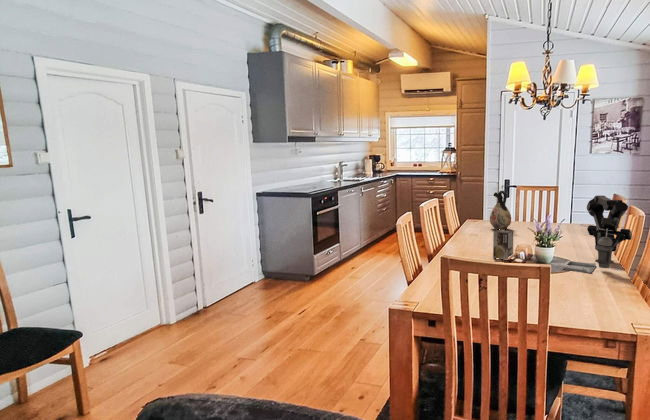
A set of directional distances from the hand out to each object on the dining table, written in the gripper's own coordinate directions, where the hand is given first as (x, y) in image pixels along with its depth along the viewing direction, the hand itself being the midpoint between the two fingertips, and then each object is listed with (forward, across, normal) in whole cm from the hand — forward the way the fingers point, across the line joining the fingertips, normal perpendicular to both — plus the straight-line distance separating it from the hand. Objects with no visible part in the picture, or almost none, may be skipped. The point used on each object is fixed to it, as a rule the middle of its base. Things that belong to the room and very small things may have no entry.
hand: (604, 245), depth 222 cm
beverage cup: (+7, 0, +9) cm, 11 cm away
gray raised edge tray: (+10, -11, +9) cm, 17 cm away
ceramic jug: (-40, -91, +60) cm, 116 cm away
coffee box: (+16, -48, +4) cm, 51 cm away
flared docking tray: (+10, -11, +9) cm, 17 cm away
